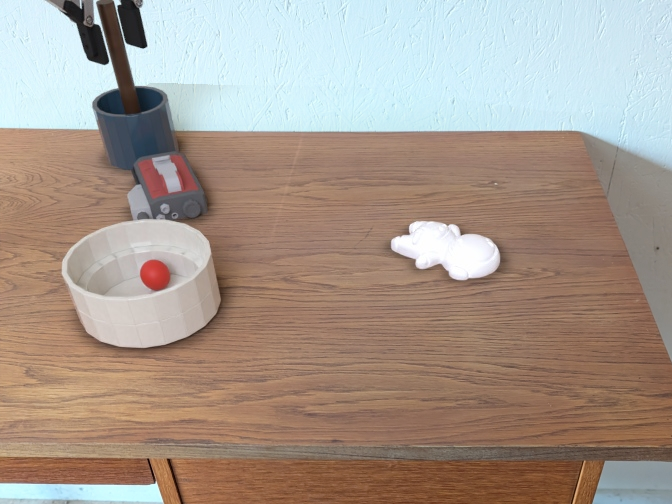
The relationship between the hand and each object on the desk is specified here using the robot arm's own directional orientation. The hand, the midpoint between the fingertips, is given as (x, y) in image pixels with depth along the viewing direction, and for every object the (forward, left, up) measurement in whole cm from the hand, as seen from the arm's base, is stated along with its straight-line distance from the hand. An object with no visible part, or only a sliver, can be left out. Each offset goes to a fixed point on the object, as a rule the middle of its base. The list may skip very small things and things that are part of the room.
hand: (117, 52), depth 86 cm
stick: (0, 0, -12) cm, 12 cm away
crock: (0, 0, -12) cm, 12 cm away
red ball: (+10, -30, -10) cm, 33 cm away
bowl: (+10, -33, -12) cm, 37 cm away
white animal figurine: (+40, -21, -13) cm, 47 cm away
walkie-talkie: (+7, -14, -13) cm, 20 cm away
